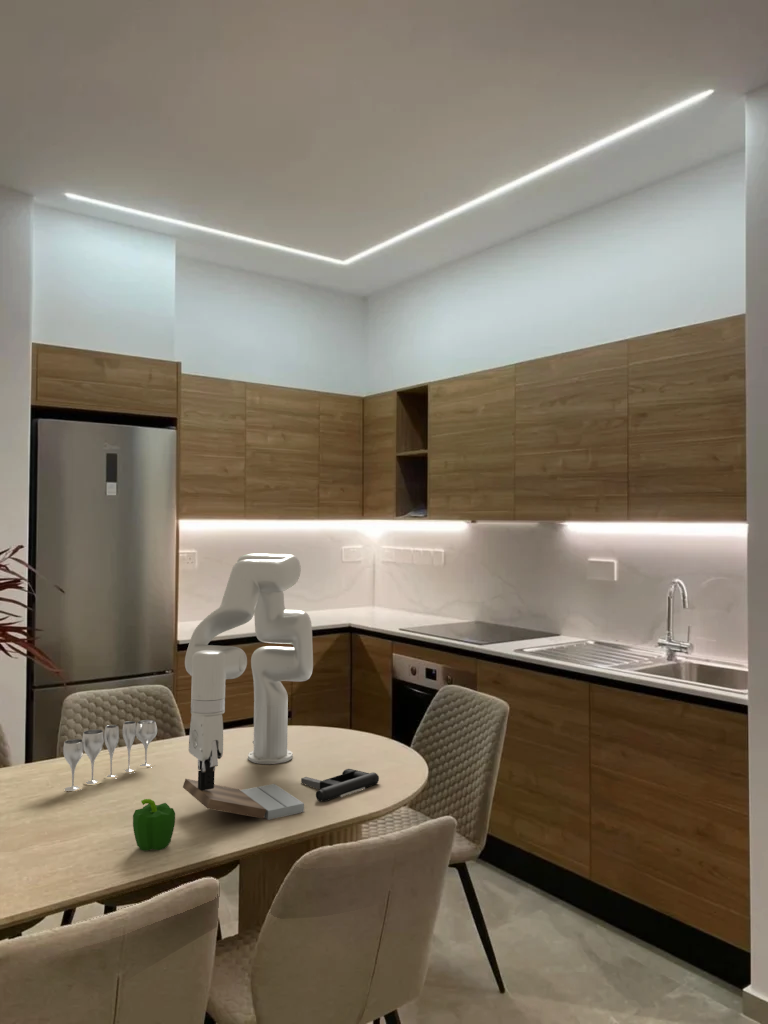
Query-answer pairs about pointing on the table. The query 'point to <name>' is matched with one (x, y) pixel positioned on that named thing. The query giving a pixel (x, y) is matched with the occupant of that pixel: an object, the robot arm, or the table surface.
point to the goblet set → (107, 744)
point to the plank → (225, 799)
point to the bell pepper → (153, 825)
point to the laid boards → (275, 801)
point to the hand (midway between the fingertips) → (205, 788)
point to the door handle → (341, 784)
